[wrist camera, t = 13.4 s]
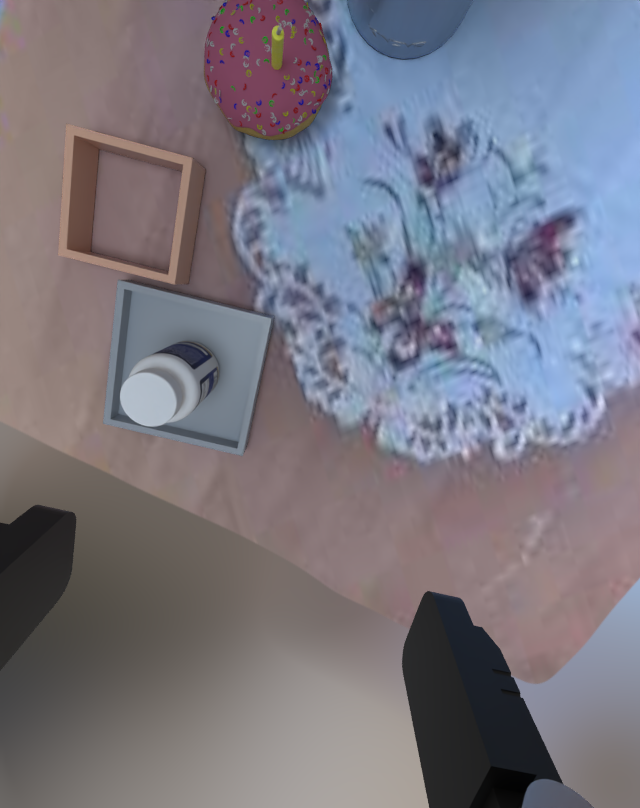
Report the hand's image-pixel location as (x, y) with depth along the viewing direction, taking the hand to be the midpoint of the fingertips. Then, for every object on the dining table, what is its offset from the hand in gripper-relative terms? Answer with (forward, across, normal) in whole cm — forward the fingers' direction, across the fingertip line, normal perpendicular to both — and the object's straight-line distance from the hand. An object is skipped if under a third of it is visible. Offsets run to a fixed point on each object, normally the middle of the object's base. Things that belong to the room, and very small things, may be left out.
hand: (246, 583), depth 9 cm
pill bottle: (+30, +10, +4) cm, 32 cm away
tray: (+30, +10, +4) cm, 32 cm away
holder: (+30, +16, -8) cm, 35 cm away
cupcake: (+30, +7, -19) cm, 36 cm away
